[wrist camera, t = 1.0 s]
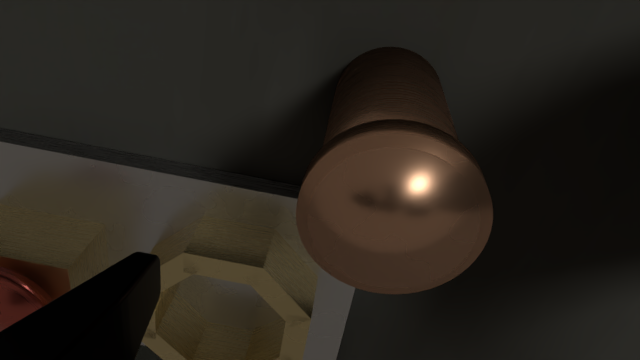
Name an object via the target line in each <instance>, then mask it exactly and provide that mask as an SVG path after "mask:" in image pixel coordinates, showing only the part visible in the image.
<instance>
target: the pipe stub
mask: <svg viewBox="0 0 640 360" xmlns="http://www.w3.org/2000/svg"><path fill="white" fill-rule="evenodd" d="M296 223H297V228H298V232H299V236H300V238H301V241H302V243H303V245H304V247H305V249H306V250H307V252H308V253H309V255H310V256H311V257H312V259H313V260H314V261H315V262H316V263H317V264H318V265H319V266H320V267H321V268H322V269H323V270H324V271H326V272H327V273H328V274H330V275H331V276H333V277H334V278H336V279H338V280H339V281H341V282H343V283H345V284H347V285H349V286H352V287H355V288H358V289H361V290H365V291H369V292H374V293H381V294H408V293H415V292H420V291H424V290H428V289H431V288H434V287H437V286H439V285H442V284H444V283H446V282H448V281H450V280H452V279H453V278H455V277H456V276H458V275H459V274H461V273H462V272H463V271H464V270H466V269H467V268H468V267H469V266H470V265H471V264H472V263H473V262H474V261H475V260H476V259H477V257H478V256H479V255H480V253H481V252H482V250H483V249H484V247H485V245H486V243H487V241H488V238H489V235H490V232H491V228H492V223H493V206H492V200H491V196H490V193H489V190H488V187H487V184H486V182H485V179H484V176H483V173H482V171H481V168H480V167H479V165H478V163H477V161H476V159H475V158H474V157H473V155H472V154H471V153H470V151H469V150H468V149H467V148H466V147H465V146H464V145H463V144H462V143H461V142H460V141H459V140H458V137H457V134H456V131H455V127H454V124H453V121H452V118H451V115H450V111H449V108H448V105H447V102H446V99H445V95H444V92H443V89H442V86H441V83H440V80H439V77H438V75H437V73H436V71H435V70H434V68H433V67H432V66H431V65H430V63H429V62H428V61H427V60H425V59H424V58H423V57H422V56H420V55H418V54H417V53H415V52H413V51H410V50H407V49H404V48H399V47H382V48H377V49H373V50H370V51H368V52H365V53H363V54H362V55H360V56H358V57H357V58H356V59H354V60H353V61H352V62H351V63H350V64H349V65H348V66H347V67H346V69H345V70H344V71H343V73H342V75H341V76H340V78H339V81H338V83H337V87H336V91H335V95H334V100H333V104H332V108H331V113H330V117H329V121H328V126H327V130H326V134H325V139H324V143H323V147H322V148H321V149H320V150H319V151H318V152H317V154H316V155H315V156H314V157H313V159H312V161H311V162H310V164H309V166H308V167H307V170H306V172H305V175H304V177H303V181H302V185H301V188H300V192H299V196H298V200H297V205H296Z"/></svg>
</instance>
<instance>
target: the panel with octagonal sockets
mask: <svg viewBox="0 0 640 360" xmlns="http://www.w3.org/2000/svg"><path fill="white" fill-rule="evenodd" d="M300 188H301V186H297V185H292V184H287V183H282V182H276V181H271V180H266V179H261V178H256V177H250V176H245V175H240V174H235V173H230V172H225V171H219V170H214V169H209V168H204V167H199V166H193V165H188V164H183V163H178V162H173V161H167V160H162V159H157V158H152V157H147V156H141V155H136V154H131V153H126V152H121V151H115V150H110V149H105V148H100V147H95V146H89V145H84V144H79V143H74V142H69V141H63V140H58V139H53V138H48V137H43V136H38V135H32V134H27V133H22V132H17V131H12V130H6V129H1V128H0V331H2V330H4V329H6V328H7V327H9V326H11V325H12V324H14V323H16V322H17V321H19V320H21V319H22V318H24V317H26V316H27V315H29V314H31V313H33V312H34V311H36V310H38V309H39V308H41V307H43V306H44V305H46V304H48V303H49V302H51V301H53V300H55V299H56V298H58V297H60V296H61V295H63V294H65V293H66V292H68V291H70V290H71V289H73V288H75V287H76V286H78V285H80V284H82V283H83V282H85V281H87V280H88V279H90V278H92V277H93V276H95V275H97V274H98V273H100V272H102V271H104V270H105V269H107V268H109V267H110V266H112V265H114V264H115V263H117V262H119V261H120V260H122V259H124V258H125V257H127V256H129V255H131V254H132V253H134V252H144V253H149V254H154V255H157V256H158V257H159V259H160V271H161V291H160V296H159V300H158V302H157V305H156V307H155V310H154V312H153V315H152V317H151V320H150V322H149V325H148V327H147V330H146V332H145V335H144V337H143V340H142V342H141V345H144V346H147V347H149V348H150V349H151V350H152V351H153V352H154V353H156V354H157V355H158V356H159V357H160V358H162V359H163V360H336V358H337V354H338V351H339V347H340V343H341V339H342V336H343V332H344V328H345V324H346V321H347V317H348V313H349V309H350V306H351V302H352V298H353V294H354V291H355V287H352V286H349V285H347V284H345V283H343V282H341V281H339V280H338V279H336V278H334V277H333V276H331V275H330V274H328V273H327V272H326V271H324V270H323V269H322V268H321V267H320V266H319V265H318V264H317V263H316V262H315V261H314V260H313V259H312V257H311V256H310V255H309V253H308V252H307V250H306V249H305V247H304V245H303V243H302V241H301V238H300V236H299V232H298V228H297V223H296V205H297V200H298V196H299V192H300Z"/></svg>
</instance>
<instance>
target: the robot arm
mask: <svg viewBox="0 0 640 360" xmlns="http://www.w3.org/2000/svg"><path fill="white" fill-rule="evenodd" d="M160 291H161V271H160V259H159V257H158V256H157V255H154V254H149V253H144V252H134V253H132V254H131V255H129V256H127V257H125V258H124V259H122V260H120V261H119V262H117V263H115V264H114V265H112V266H110V267H109V268H107V269H105V270H104V271H102V272H100V273H98V274H97V275H95V276H93V277H92V278H90V279H88V280H87V281H85V282H83V283H82V284H80V285H78V286H76V287H75V288H73V289H71V290H70V291H68V292H66V293H65V294H63V295H61V296H60V297H58V298H56V299H55V300H53V301H51V302H49V303H48V304H46V305H44V306H43V307H41V308H39V309H38V310H36V311H34V312H33V313H31V314H29V315H27V316H26V317H24V318H22V319H21V320H19V321H17V322H16V323H14V324H12V325H11V326H9V327H7V328H6V329H4V330H2V331H0V360H134V359H135V357H136V354H137V352H138V349H139V347H140V345H141V342H142V340H143V337H144V335H145V332H146V330H147V327H148V325H149V322H150V320H151V317H152V315H153V312H154V310H155V307H156V305H157V302H158V300H159V296H160Z"/></svg>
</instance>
